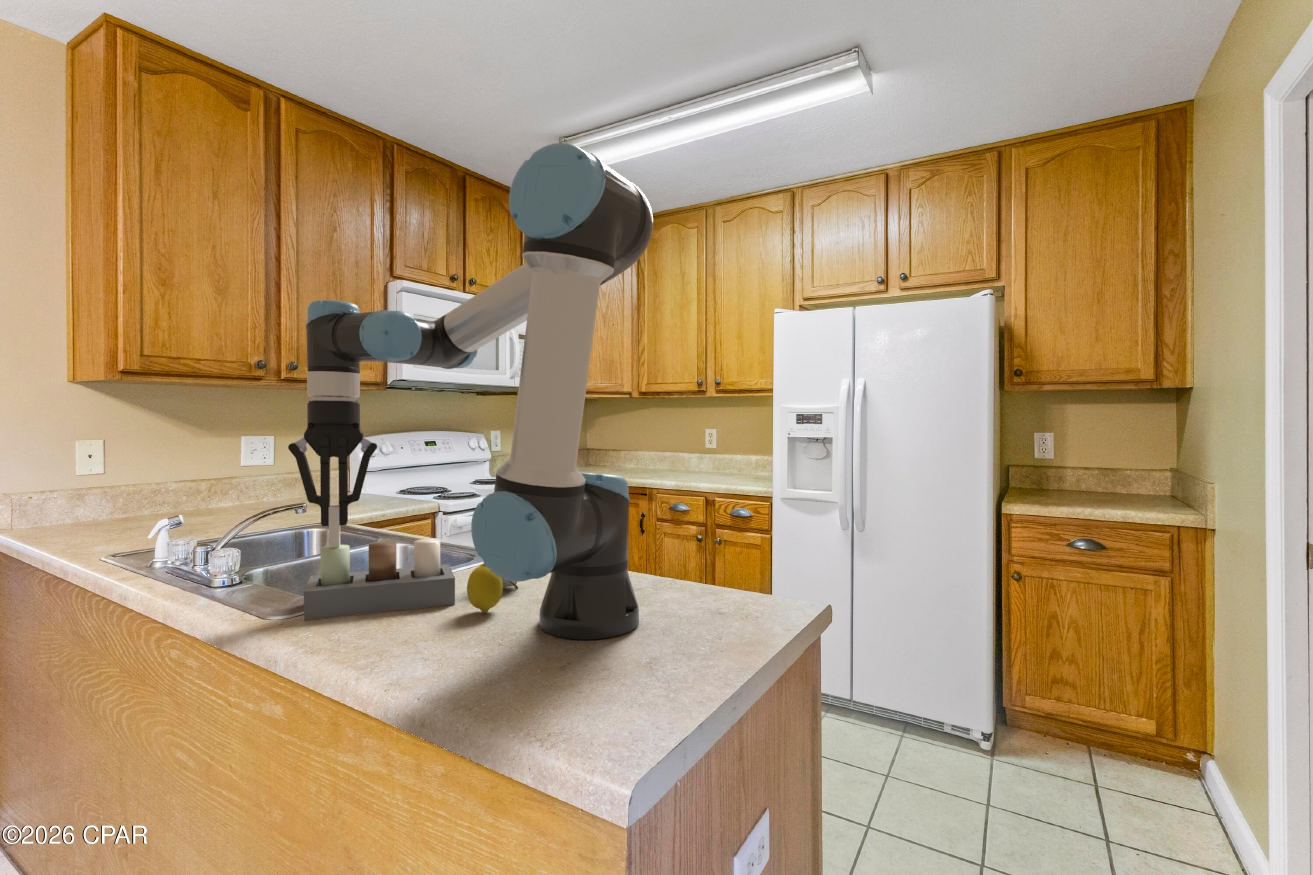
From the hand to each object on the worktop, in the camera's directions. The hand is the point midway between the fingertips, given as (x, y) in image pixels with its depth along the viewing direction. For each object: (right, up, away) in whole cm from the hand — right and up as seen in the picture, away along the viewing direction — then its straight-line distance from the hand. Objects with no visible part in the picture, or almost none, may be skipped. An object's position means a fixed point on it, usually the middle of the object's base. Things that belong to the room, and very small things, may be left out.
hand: (334, 545), depth 101 cm
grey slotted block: (+6, -10, +3) cm, 12 cm away
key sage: (0, -7, 0) cm, 7 cm away
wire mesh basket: (+24, -10, +13) cm, 29 cm away
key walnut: (+6, -7, +3) cm, 10 cm away
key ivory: (+13, -7, +6) cm, 16 cm away
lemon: (+25, -11, -1) cm, 27 cm away
